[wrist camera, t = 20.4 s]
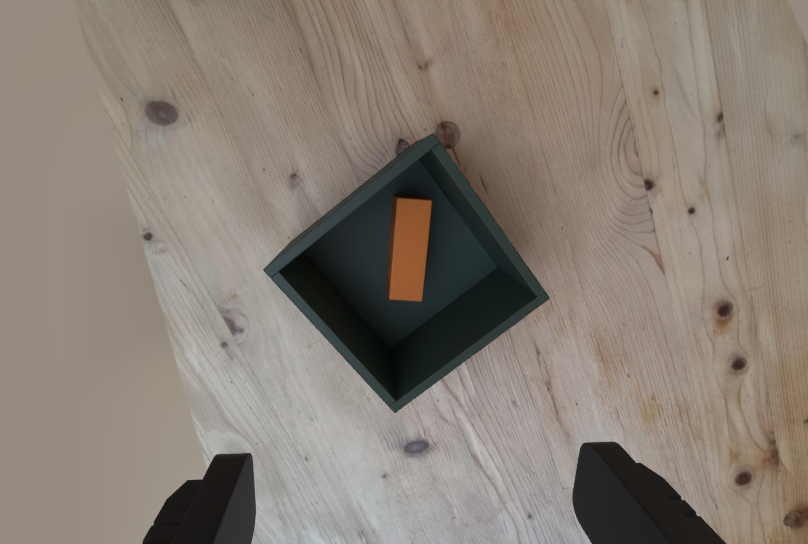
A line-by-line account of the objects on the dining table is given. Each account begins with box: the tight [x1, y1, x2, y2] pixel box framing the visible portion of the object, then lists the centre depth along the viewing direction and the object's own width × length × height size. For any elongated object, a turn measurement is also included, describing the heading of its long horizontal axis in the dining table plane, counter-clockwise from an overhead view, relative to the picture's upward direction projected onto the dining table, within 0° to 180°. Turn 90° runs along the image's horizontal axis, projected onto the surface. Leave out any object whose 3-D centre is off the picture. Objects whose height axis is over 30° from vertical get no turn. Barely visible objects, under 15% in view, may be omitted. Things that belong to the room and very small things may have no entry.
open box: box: [264, 134, 549, 413], centre depth 36 cm, size 16×16×11 cm
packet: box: [386, 194, 432, 301], centre depth 38 cm, size 3×5×9 cm
